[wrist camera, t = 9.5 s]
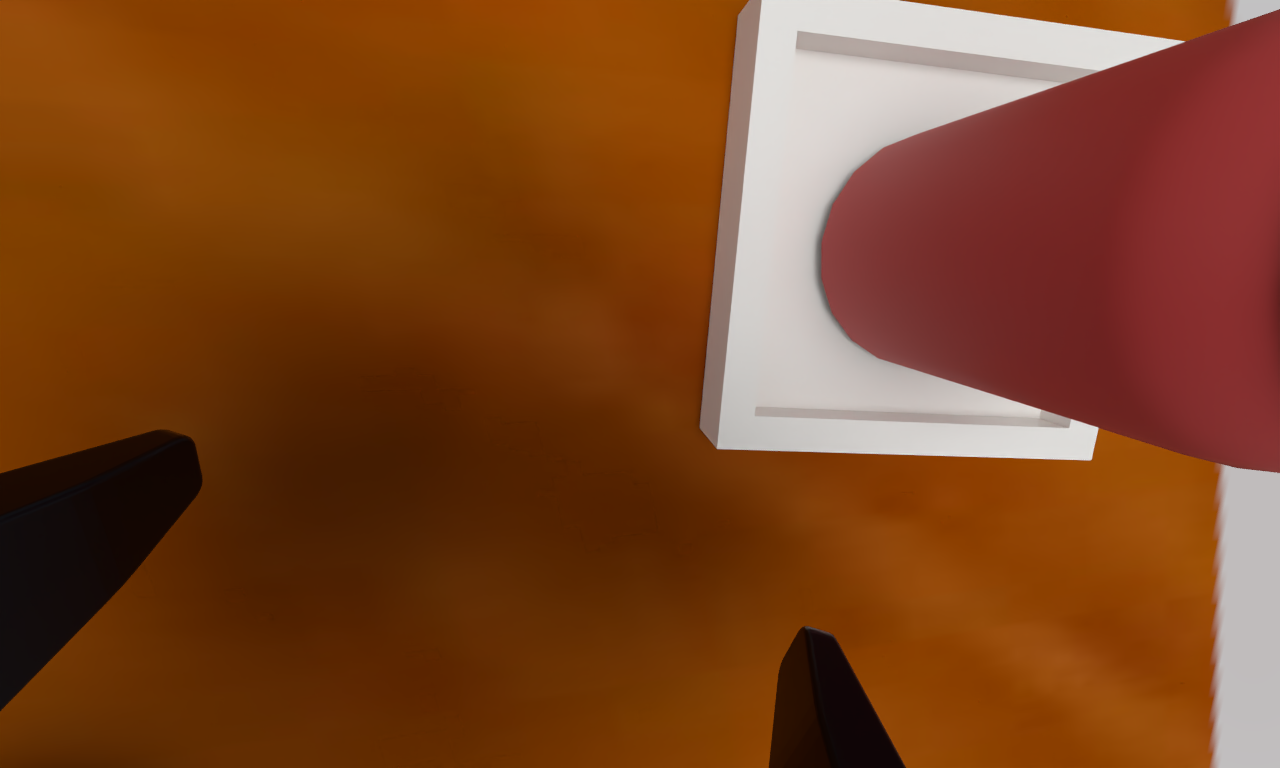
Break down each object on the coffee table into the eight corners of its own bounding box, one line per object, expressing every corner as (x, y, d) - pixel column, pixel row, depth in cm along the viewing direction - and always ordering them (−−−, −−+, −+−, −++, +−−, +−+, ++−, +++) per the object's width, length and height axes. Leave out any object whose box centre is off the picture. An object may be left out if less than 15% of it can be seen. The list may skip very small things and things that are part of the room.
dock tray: (1037, 440, 21) (1091, 460, 19) (699, 427, 20) (716, 449, 17) (1114, 65, 19) (1184, 41, 17) (738, 15, 17) (763, -19, 15)
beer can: (1056, 196, 18) (1911, 91, 7) (954, 394, 19) (1555, 601, 8) (874, 95, 17) (1544, -250, 6) (773, 312, 18) (1168, 412, 6)
